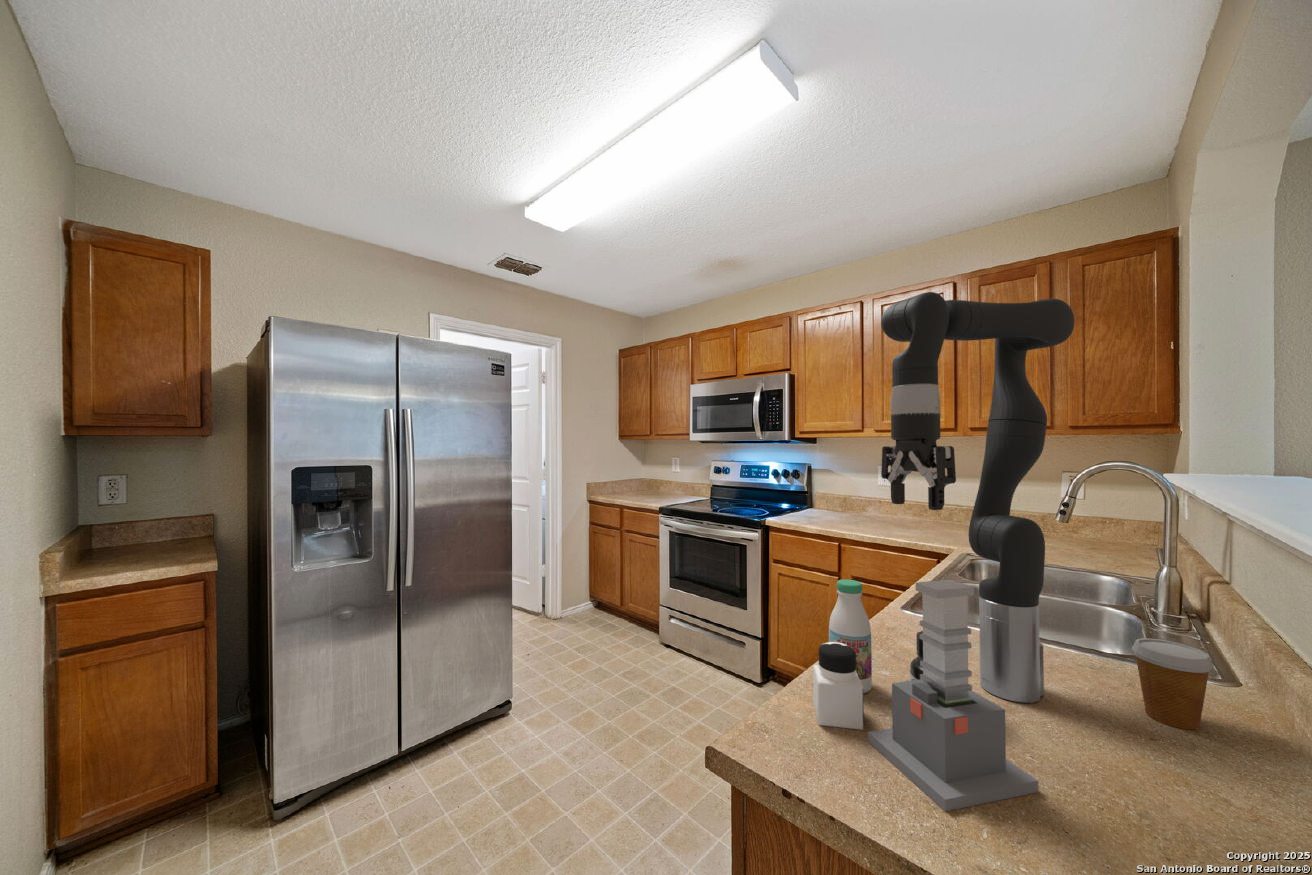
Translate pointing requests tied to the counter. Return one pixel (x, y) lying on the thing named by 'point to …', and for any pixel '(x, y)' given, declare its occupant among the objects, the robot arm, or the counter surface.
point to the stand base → (950, 748)
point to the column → (946, 640)
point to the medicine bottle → (838, 687)
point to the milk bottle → (853, 628)
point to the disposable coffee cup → (1172, 681)
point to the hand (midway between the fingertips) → (916, 506)
